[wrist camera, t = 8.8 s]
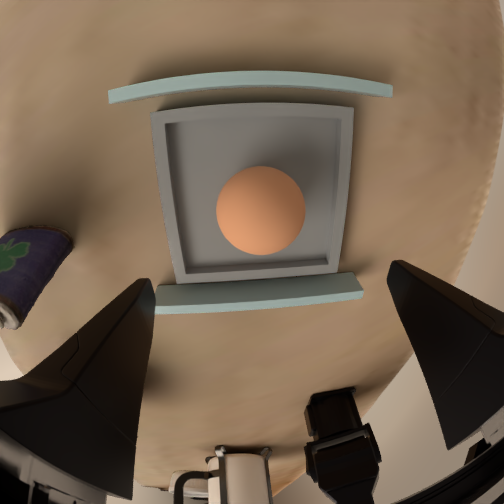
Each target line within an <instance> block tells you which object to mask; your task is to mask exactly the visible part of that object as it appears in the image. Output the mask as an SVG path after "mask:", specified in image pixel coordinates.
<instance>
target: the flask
mask: <svg viewBox="0 0 504 504" xmlns="http://www.w3.org/2000/svg"><path fill="white" fill-rule="evenodd" d="M73 248H75V247H74V246H73V240H72V237H71V236H70V234H69V233H68V232H66V231H65V230H63V229H60V228H57V227H50V226H41V225H40V226H39V225H36V226H29V227H24V228H19V229H15V230H13V231H10V232H8V233H6V234H5V235H3V236H2V237H1V238H0V328H4V327H5V328H7V329H13V330H16V329H18V327H21V325H22V324H23V322H24V320H25V318H26V317H27V315H28V313H29V311H30V310H31V308H32V306H34V304H35V302H36V300H37V298H38V297H39V295H40V294H41V293H42V291H43V289H44V287H45V286H46V285H47V284H48V282H49V281H50V280H51V279H52V278H53V276H54V274H55V272H56V271H57V269H58V267H59V266H60V265H61V264H62V262H63V261H64V259H65V258H66V257H67V256H68V255H69V254H70V252H71V251H72V249H73Z"/></svg>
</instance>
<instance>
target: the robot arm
mask: <svg viewBox="0 0 504 504" xmlns="http://www.w3.org/2000/svg"><path fill="white" fill-rule="evenodd" d="M387 285H388V287H389V290H390V293H391V295H392V298H393V301H394V304H395V307H396V309H397V312H398V315H399V317H400V320H401V322H402V324H403V326H404V328H405V331H406V333H407V335H408V338H409V340H410V342H411V345H412V347H413V349H414V352H415V354H416V357H417V359H418V362H419V364H420V367H421V369H422V372H423V375H424V377H425V380H426V383H427V385H428V388H429V391H430V394H431V397H432V400H433V403H434V406H435V409H436V412H437V416H438V419H439V422H440V426H441V429H442V432H443V436H444V440H445V443H446V447H447V450H450V449H452V448H454V447H455V446H457V445H459V444H460V443H462V442H464V441H465V440H467V439H468V438H470V437H472V436H473V435H475V434H476V433H478V432H479V431H481V432H482V434H483V436H484V438H483V439H482V440H480V441H479V442H477V443H476V444H475V445H473V446H472V447H470V448H469V451H468V455H467V458H466V461H465V464H464V466H463V467H461V468H460V469H458V470H457V471H455V472H453V473H452V474H450V475H448V476H447V477H445V478H443V479H441V480H440V481H438V482H436V483H434V484H433V485H431V486H429V487H427V488H425V489H423V490H421V491H419V492H417V493H415V494H412V495H410V496H408V497H406V498H404V499H401V500H399V501H397V502H394V503H392V504H504V312H502V311H500V310H497V309H496V308H494V307H492V306H490V305H488V304H486V303H484V302H482V301H480V300H478V299H477V298H475V297H473V296H471V295H469V294H467V293H465V292H464V291H462V290H460V289H458V288H456V287H454V286H453V285H451V284H449V283H447V282H445V281H443V280H441V279H439V278H437V277H435V276H433V275H431V274H429V273H427V272H426V271H424V270H422V269H420V268H418V267H416V266H413V265H411V264H409V263H407V262H405V261H403V260H394V261H392V263H391V265H390V269H389V272H388V276H387ZM155 306H156V297H155V293H154V290H153V287H152V283H151V281H150V279H149V278H139V279H137V280H136V281H135V282H134V283H133V284H131V285H130V286H129V287H128V288H127V289H125V290H124V291H123V292H122V293H121V294H119V295H118V296H117V297H116V298H115V299H114V300H112V301H111V302H110V303H109V304H108V305H107V306H105V307H104V308H103V309H102V310H101V311H100V312H99V313H97V314H96V315H95V316H94V317H93V318H92V319H91V320H89V321H88V322H87V323H86V324H85V325H84V326H83V327H82V328H80V329H79V330H78V331H77V333H75V334H74V335H73V336H72V337H70V338H69V339H68V340H67V341H66V342H65V343H64V344H63V345H61V346H60V347H59V348H58V349H57V350H56V351H54V352H53V353H52V354H51V355H49V356H48V357H47V358H46V359H44V360H43V361H42V362H41V363H39V364H38V365H37V366H36V367H34V368H33V369H32V370H31V371H29V372H28V373H27V374H26V375H24V376H22V377H21V378H18V379H15V380H8V381H0V504H106V500H107V495H110V496H114V497H118V498H123V499H127V500H132V496H133V478H134V464H135V453H136V446H135V445H136V441H137V432H138V424H139V416H140V409H141V402H142V395H143V389H144V383H145V377H146V371H147V365H148V360H149V354H150V349H151V344H152V338H153V327H154V316H155ZM355 392H356V389H355V387H352V388H348V389H343V390H338V391H333V392H328V393H322V394H317V395H312V396H311V397H310V400H309V403H308V405H307V406H306V409H305V412H304V415H305V420H306V425H307V429H308V434H309V436H310V437H311V436H313V438H314V441H313V442H307V443H306V444H307V445H306V446H305V447H304V450H305V455H306V473H307V475H309V476H311V478H312V479H313V481H314V483H317V482H318V486H319V488H320V489H321V491H322V492H323V493H324V494H325V495H326V496H327V497H328V498H329V499H330V500H331V501H332V502H334V503H335V504H374V500H373V497H372V495H373V493H374V490H375V487H376V485H377V482H378V479H379V466H378V463H380V462H382V460H381V455H380V451H379V447H378V445H377V442H376V440H375V437H374V434H373V431H372V429H371V426H370V424H369V423H367V424H365V425H362V422H361V418H360V415H359V412H358V409H357V406H356V403H355V400H354V398H353V395H354V393H355ZM365 437H366V438H365Z"/></svg>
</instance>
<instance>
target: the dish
mask: <svg viewBox="0 0 504 504" xmlns="http://www.w3.org/2000/svg"><path fill="white" fill-rule="evenodd" d="M150 116H151V127H152V137H153V146H154V155H155V163H156V171H157V178H158V185H159V192H160V198H161V204H162V210H163V216H164V222H165V228H166V233H167V238H168V244H169V249H170V254H171V258H172V263H173V268H174V273H175V277H176V282H177V284H181V283H200V282H218V281H234V280H249V279H263V278H277V277H290V276H302V275H314V274H326V273H337V270H338V264H339V258H340V252H341V245H342V239H343V231H344V224H345V216H346V208H347V199H348V190H349V179H350V168H351V155H352V139H353V116H354V108H352V107H343V106H333V105H321V104H304V103H236V104H219V105H206V106H196V107H187V108H179V109H171V110H164V111H158V112H152V113H150ZM255 166H266V167H272V168H275V169H278V170H280V171H282V172H284V173H285V174H287V175H288V176H289V177H291V178H292V179H293V180H294V181H295V183H296V184H297V185H298V187H299V188H300V190H301V192H302V194H303V197H304V201H305V207H306V213H305V220H304V224H303V227H302V229H301V231H300V233H299V235H298V236H297V237H296V239H295V240H294V241H293V242H292V243H291V244H290V245H289V246H287V247H286V248H284V249H282V250H280V251H278V252H276V253H272V254H267V255H254V254H249V253H247V252H244V251H242V250H240V249H238V248H236V247H235V246H233V245H232V244H231V243H230V242H229V241H228V240H227V239H226V238H225V236H224V235H223V233H222V231H221V229H220V227H219V224H218V221H217V215H216V206H217V200H218V197H219V194H220V192H221V190H222V188H223V186H224V185H225V184H226V182H227V181H228V180H229V179H230V178H231V177H232V176H233V175H235V174H236V173H238V172H240V171H241V170H244V169H246V168H250V167H255Z"/></svg>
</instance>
